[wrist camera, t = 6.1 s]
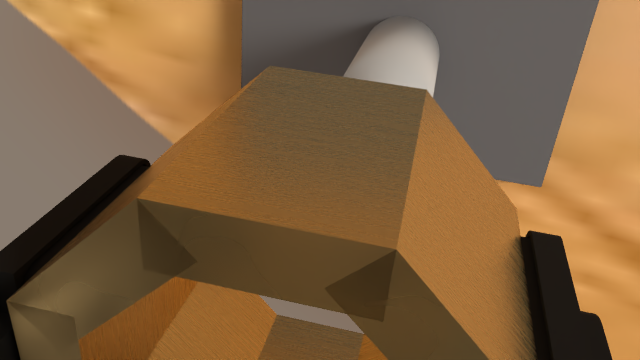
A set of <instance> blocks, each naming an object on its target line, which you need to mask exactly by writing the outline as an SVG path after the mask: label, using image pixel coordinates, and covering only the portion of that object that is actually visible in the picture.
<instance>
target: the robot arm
mask: <svg viewBox="0 0 640 360" xmlns="http://www.w3.org/2000/svg"><path fill="white" fill-rule="evenodd" d="M150 166H151V165H150V163H149V161H148V160H146V159H142V158H136V157H131V156H126V155H119V156H117V157H115V158H114V159H113V160H112V161H110V162H109V163H108V164H107V165H106V166H104V167H103V168H102V169H101V170H99V171H98V172H97V173H96V174H95V175H93V176H92V177H91V178H90V179H88V180H87V181H86V182H85V183H84V184H82V185H81V186H80V187H79V188H77V189H76V190H75V191H74V192H72V193H71V194H70V195H69V196H68V197H66V198H65V199H64V200H63V201H61V202H60V203H59V204H58V205H56V206H55V207H54V208H53V209H52V210H50V211H49V212H48V213H47V214H46V215H44V216H43V217H42V218H41V219H39V220H38V221H37V222H36V223H35V224H33V225H32V226H31V227H29V228H28V229H27V230H26V231H25V232H23V233H22V234H21V235H20V236H19V237H17V238H16V239H15V240H14V241H12V242H11V243H10V244H9V245H7V246H6V247H5V248H4V249H3V250H1V251H0V360H21V359H20V355H19V351H18V347H17V343H16V339H15V335H14V330H13V326H12V322H11V318H10V314H9V310H8V306H7V300H8V299H9V298H10V297H11V296H12V295H13V294H14V293H15V292H16V291H17V290H18V289H19V288H21V287H22V286H23V285H24V284H25V283H26V282H27V281H28V280H29V279H30V278H31V277H32V276H33V275H34V274H36V273H37V272H38V271H39V270H40V269H41V268H42V267H43V266H44V265H45V264H46V263H47V262H49V261H50V260H51V259H52V258H53V257H54V256H55V255H56V254H57V253H58V252H59V251H60V250H61V249H62V248H63V247H65V246H66V245H67V244H68V243H69V242H70V241H71V240H72V239H73V238H74V237H75V236H76V235H77V234H78V233H79V232H81V231H82V230H83V229H84V228H85V227H86V226H87V225H88V224H89V223H90V222H91V221H92V220H93V219H94V218H95V217H97V216H98V215H99V214H100V213H101V212H102V211H103V210H104V209H105V208H106V207H107V206H108V205H109V204H110V203H112V202H113V201H114V200H115V199H116V198H117V197H118V196H119V195H120V194H121V193H122V192H123V191H124V190H125V189H126V188H128V187H129V186H130V185H131V184H132V183H133V182H134V181H135V180H136V179H137V178H138V177H139V176H140V175H141V174H142V173H144V172H145V171H146V170H147V169H148V168H149V167H150ZM521 246H522V253H523V260H524V268H525V275H526V282H527V290H528V297H529V304H530V312H531V319H532V326H533V334H534V341H535V348H536V356H537V360H612V357H611V353H610V350H609V346H608V343H607V340H606V336H605V333H604V329H603V326H602V323H601V320H600V318H599V317H598V316H597V315H596V314H593V313H588V312H583V311H580V308H579V304H578V301H577V297H576V293H575V289H574V285H573V281H572V277H571V273H570V269H569V265H568V261H567V257H566V253H565V249H564V245H563V241H562V238H561V237H560V236H557V235H551V234H546V233H540V232H535V231H528V233H527V235H526V237H521Z"/></svg>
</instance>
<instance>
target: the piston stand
mask: <svg viewBox="0 0 640 360" xmlns="http://www.w3.org/2000/svg"><path fill="white" fill-rule="evenodd" d="M598 2H599V0H242V79H241V89H242V88H243V87H244V86H246V85H247V84H248V83H249V82H250V81H252V80H253V79H254V78H255V77H257V76H258V75H259V74H260V73H261V72H263V71H264V70H265V69H266V68H267V67H269V66H277V67H283V68H290V69H296V70H303V71H309V72H316V73H322V74H329V75H335V76H342V77H349V78H355V79H362V80H368V81H375V82H381V83H388V84H394V85H401V86H407V87H414V88H420V89H427V91H428V92H429V93H430V95H431V96H432V97H433V99H434V100H435V101H436V102H437V104H438V105H439V106H440V108H441V109H442V110H443V112H444V113H445V114H446V116H447V117H448V118H449V120H450V121H451V122H452V124H453V125H454V126H455V128H456V129H457V130H458V132H459V133H460V134H461V136H462V137H463V138H464V140H465V141H466V142H467V144H468V145H469V146H470V148H471V149H472V150H473V152H474V153H475V154H476V155H477V157H478V158H479V159H480V161H481V162H482V163H483V165H484V166H485V167H486V169H487V170H488V171H489V173H490V174H491V175H492V177H493V178H494V179H496V180H502V181H508V182H514V183H519V184H525V185H531V186H537V187H541V186H542V183H543V180H544V176H545V173H546V170H547V167H548V164H549V160H550V157H551V154H552V151H553V147H554V144H555V141H556V138H557V134H558V131H559V128H560V125H561V121H562V118H563V115H564V112H565V109H566V105H567V102H568V99H569V96H570V92H571V89H572V86H573V83H574V79H575V76H576V73H577V70H578V67H579V63H580V60H581V57H582V54H583V50H584V47H585V44H586V41H587V37H588V34H589V31H590V28H591V25H592V21H593V18H594V15H595V12H596V8H597V5H598Z"/></svg>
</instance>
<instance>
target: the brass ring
mask: <svg viewBox="0 0 640 360" xmlns="http://www.w3.org/2000/svg"><path fill="white" fill-rule="evenodd" d="M259 295H262V296H267V297H271V298H276V299H281V300H286V301H290V302H294V303H299V304H303V305H308V306H313V307H318V308H322V309H327V310H331V311H336V312H340V313H345V314H347V315H348V316H349V317H350V318H351V319H352V320H353V321H354V322H355V323H356V324H357V326H358V327H359V328H360V329H361V330H362V331H363V332H364V333H365V334H361V333H357V332H353V331H348V330H344V329H339V328H334V327H330V326H325V325H320V324H316V323H312V322H308V321H303V320H299V319H294V318H290V317H285V316H281V315H277V314H276V313H275V312H274V311H273V310H272V309H271V308H270V307H269V306H268V305H267V304H266V303H265V302H264V300H263V299H262V298H261V297H260V296H259ZM7 306H8V310H9V314H10V318H11V322H12V326H13V330H14V335H15V339H16V343H17V347H18V351H19V355H20V359H21V360H537V356H536V348H535V341H534V334H533V326H532V319H531V312H530V304H529V297H528V290H527V282H526V275H525V268H524V260H523V253H522V246H521V236H520V229H519V222H518V215H517V208H516V207H515V206H514V204H513V203H512V202H511V201H510V199H509V198H508V197H507V195H506V194H505V193H504V191H503V190H502V189H501V187H500V186H499V185H498V183H497V182H496V181H495V179H494V178H493V177H492V175H491V174H490V173H489V171H488V170H487V169H486V167H485V166H484V165H483V163H482V162H481V161H480V159H479V158H478V157H477V155H476V154H475V153H474V152H473V150H472V149H471V148H470V146H469V145H468V144H467V142H466V141H465V140H464V138H463V137H462V136H461V134H460V133H459V132H458V130H457V129H456V128H455V126H454V125H453V124H452V122H451V121H450V120H449V118H448V117H447V116H446V114H445V113H444V112H443V110H442V109H441V108H440V106H439V105H438V104H437V102H436V101H435V100H434V99H433V97H432V96H431V95H430V93H429V92H428V91H427V89H420V88H414V87H407V86H401V85H394V84H388V83H381V82H375V81H368V80H362V79H355V78H349V77H342V76H335V75H329V74H322V73H316V72H309V71H303V70H296V69H290V68H283V67H277V66H269V67H267V68H266V69H265V70H264V71H263V72H261V73H260V74H259V75H258V76H257V77H255V78H254V79H253V80H252V81H250V82H249V83H248V84H247V85H246V86H244V87H243V88H242V89H241V90H239V91H238V92H237V93H236V94H235V95H233V96H232V97H231V98H230V99H228V100H227V101H226V102H225V103H224V104H222V105H221V106H220V107H219V108H218V109H216V110H215V111H214V112H213V113H211V114H210V115H209V116H208V117H207V118H205V119H204V120H203V121H202V122H200V123H199V124H198V125H197V126H196V127H194V128H193V129H192V130H191V131H189V132H188V133H187V134H186V135H185V136H183V137H182V138H181V139H180V140H179V141H177V142H176V143H175V144H174V145H172V146H171V147H170V148H169V149H168V150H167V151H166V152H165V153H164V154H163V155H162V156H161V157H159V158H158V159H157V160H156V161H155V162H154V163H153V164H152V165H151V166H150V167H149V168H148V169H147V170H146V171H145V172H144V173H142V174H141V175H140V176H139V177H138V178H137V179H136V180H135V181H134V182H133V183H132V184H131V185H130V186H129V187H128V188H126V189H125V190H124V191H123V192H122V193H121V194H120V195H119V196H118V197H117V198H116V199H115V200H114V201H113V202H112V203H110V204H109V205H108V206H107V207H106V208H105V209H104V210H103V211H102V212H101V213H100V214H99V215H98V216H97V217H95V218H94V219H93V220H92V221H91V222H90V223H89V224H88V225H87V226H86V227H85V228H84V229H83V230H82V231H81V232H79V233H78V234H77V235H76V236H75V237H74V238H73V239H72V240H71V241H70V242H69V243H68V244H67V245H66V246H65V247H63V248H62V249H61V250H60V251H59V252H58V253H57V254H56V255H55V256H54V257H53V258H52V259H51V260H50V261H49V262H47V263H46V264H45V265H44V266H43V267H42V268H41V269H40V270H39V271H38V272H37V273H36V274H34V275H33V276H32V277H31V278H30V279H29V280H28V281H27V282H26V283H25V284H24V285H23V286H22V287H21V288H19V289H18V290H17V291H16V292H15V293H14V294H13V295H12V296H11V297H10V298H9V299H8V300H7Z"/></svg>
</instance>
